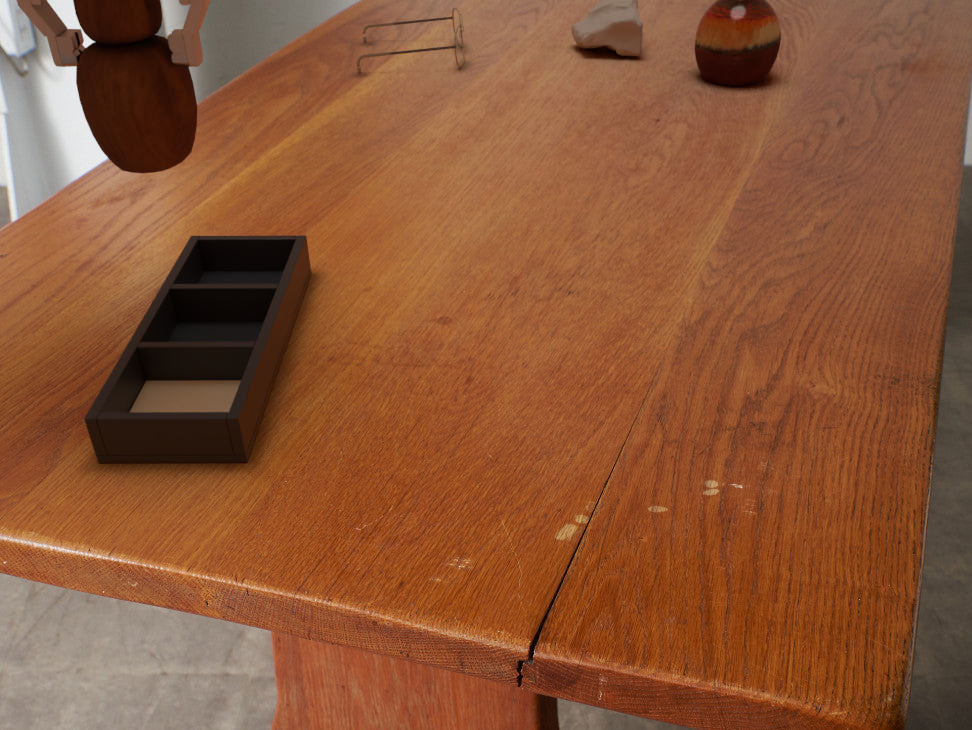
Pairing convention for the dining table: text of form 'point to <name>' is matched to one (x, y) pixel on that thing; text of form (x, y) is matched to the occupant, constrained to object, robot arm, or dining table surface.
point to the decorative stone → (611, 27)
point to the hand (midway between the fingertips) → (131, 64)
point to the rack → (203, 354)
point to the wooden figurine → (134, 86)
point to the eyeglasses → (417, 49)
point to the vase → (737, 42)
